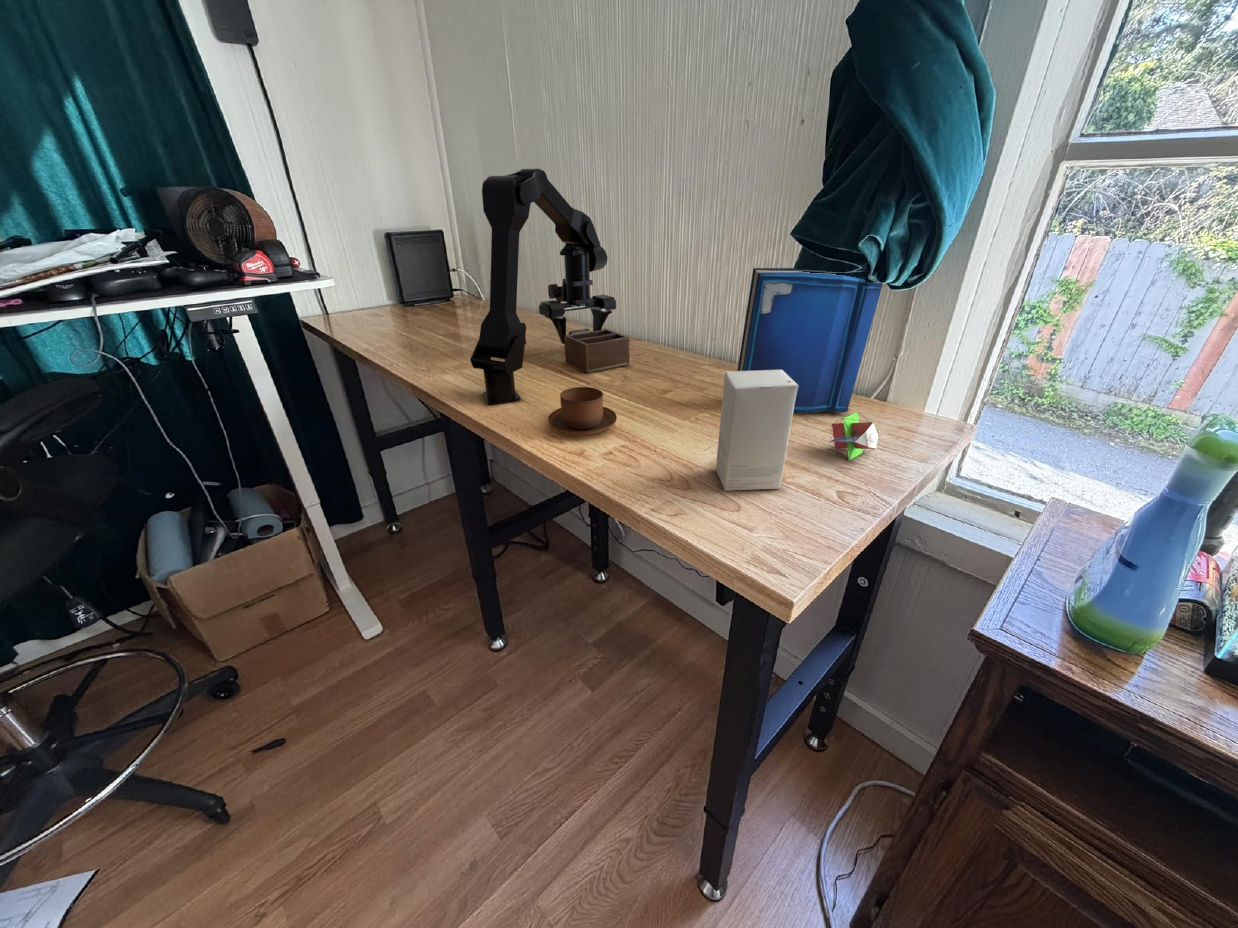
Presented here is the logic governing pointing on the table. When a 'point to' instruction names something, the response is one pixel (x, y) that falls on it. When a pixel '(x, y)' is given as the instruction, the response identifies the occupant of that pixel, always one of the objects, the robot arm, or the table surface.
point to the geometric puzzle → (854, 435)
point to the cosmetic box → (754, 428)
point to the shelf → (596, 349)
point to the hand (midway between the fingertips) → (579, 341)
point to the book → (809, 332)
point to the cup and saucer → (582, 412)
